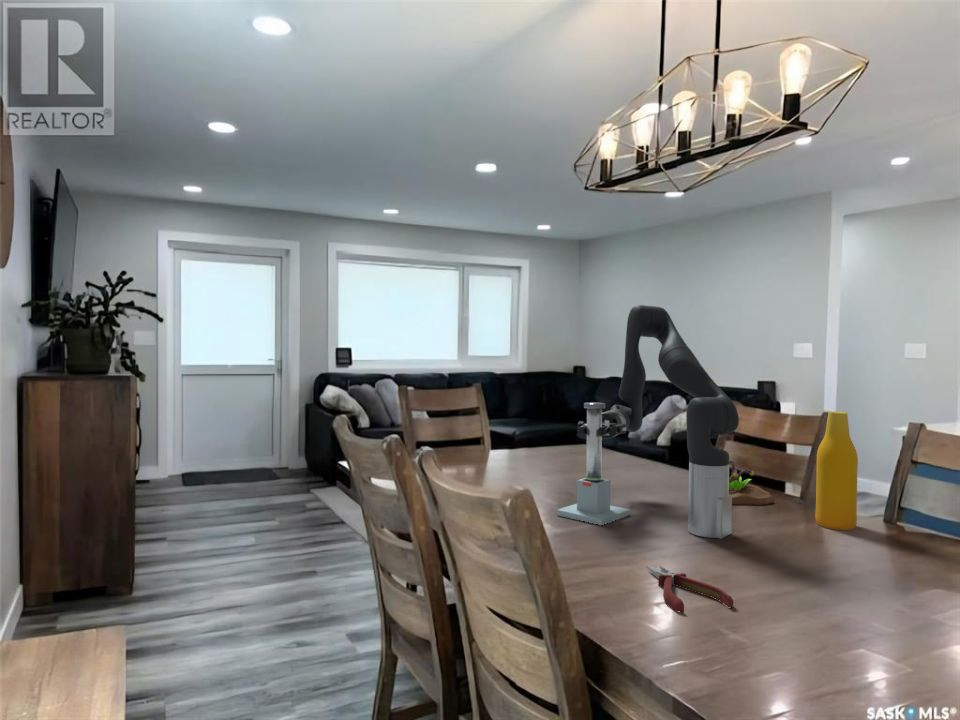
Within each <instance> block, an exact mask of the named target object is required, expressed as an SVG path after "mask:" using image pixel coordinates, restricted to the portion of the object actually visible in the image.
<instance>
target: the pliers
mask: <svg viewBox="0 0 960 720" xmlns="http://www.w3.org/2000/svg"><path fill="white" fill-rule="evenodd" d="M646 568H647V569H648V570H649V572H650V573H651V574H653V576H655V577H656V579H657V582H658V587H663V593H662V594H663V600H664V602H665V604H666V605H667V604H668V605H669V606H670V607H669V606H668V605H667V606H668V607H669V608H671V607H672V608H673V609H674V610H673V609H672V608H671V609H672V610H673V611H675V610H676V611H680V612H684V613H685V604H684V601H683V600H682V599H681V598H679V597H678V596H677V595H676V594H674V593H673V591H672V590H673V589H672V587H673V585H672V584H675V585H674V586H676V585H678V586H677V587H679V586H681V587H680V588H682V587H684V588H683V589H685V588H687V589H686V590H688V589H690V590H689V591H691V590H693V591H692V592H694V591H696V592H695V593H697V592H700V593H703V594H706V595H709V596H712V597H714V598H716V599H718V600H720V601H721V602H722V603H724V604H725V605H727V606H728V607H732V608H733V607H734V599H733V598H732V596H731V595H729V594H728V593H727V592H725V591H724V590H723V589H721V588H720V587H717V586H714V585H712V584H709V583H706V582H702V581H698V580H696V579H693V578H690V577H687V574H686V573H684V572H681V573H674V572H673V571H672V570H670V569H668V568H666V567H664V566H661V565H659V568H657V567H652V566H649V565H646ZM660 585H661V586H660ZM671 589H672V590H671ZM700 593H699V594H700ZM703 594H702V595H703ZM706 595H705V596H706ZM714 598H713V599H714ZM716 599H715V600H716ZM718 600H717V601H718ZM721 602H720V603H721ZM722 603H721V604H722ZM725 605H724V606H725ZM676 611H675V612H676Z"/></svg>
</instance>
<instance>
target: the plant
mask: <svg viewBox="0 0 960 720" xmlns="http://www.w3.org/2000/svg"><path fill="white" fill-rule="evenodd" d="M729 466H731V473H730V476H729V494H730V495H732V505H755V506H761V505H762V506H763V505H768V504H772V503H773V501H774V499H773V495H771V493H770V492H769V491H767V490H764V489H763V488H761V487H759V486H758V485H755V484H752V482H751V481H752V478H746V479H745V480H743V481H742V479H743V477H742V475H743V474H744V473H746V472H748V474H749V476H752V477H753V476H754V475H755V472H754V471H753V470H751V469H743V470H741V471H739V473H738V470H737V469H736V468H735V467H736V466H735V463H734V461H733V459H729Z"/></svg>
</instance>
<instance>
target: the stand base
mask: <svg viewBox="0 0 960 720" xmlns="http://www.w3.org/2000/svg"><path fill="white" fill-rule="evenodd" d="M611 484H612V483H611V479H607V478H602V481H601V482H598V483H594V482H589V481H586V477H584V478H581V479H580V478H579V479H577V480H576V503H574V504H571V505H568V506H564V507H561V508H558V509H556V516H559V517H562V518H567V519H571V520H576V521H579V520H580V521H579V522H583V521H585V522H584V523H588V522H589V524H592V523H593V525H596V524H598V525H597V526H601V525H603V526H605V525H607V523H608V524H610V523H612V521H613V522H615V520H616V521H619V520H621V519H623V518H625V517H628V515H629V516H630V515H631V509H629V508H625V507H619V506H615V505H611ZM620 518H621V519H620ZM604 524H605V525H604Z"/></svg>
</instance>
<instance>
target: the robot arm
mask: <svg viewBox="0 0 960 720" xmlns="http://www.w3.org/2000/svg"><path fill="white" fill-rule="evenodd" d="M641 337H642V338H643V337H646V338H655V339H656V340H658V342H659V343H660V344H661V347H660V350H659V353H658V365H659V367H660V369H661V370H662V372H663V374H664V375H665V377H666V378H667V380H668V381H669V382H670V383H671V384H672V385H674V386H675V387H676V388H678V389H680V390H681V391H682V392H685V393H687V395H689V396H691V397H693V398H692V399H691V400H690V401H689V402H688V405H687V407H686V418H685V421H686V443H687V444H686V445H687V446H686V447H687V451H688V452H687V453H688V456H689V458H688V462H689V463H688V508H687V509H688V513H687V514H688V515H687V516H688V517H687V518H688V521H687V528H688V529H687V531H688V532H689V533H690V534H692V535H694V536H698V537H704V538H711V539H720V540H722V539H724V538H726V537H727V536H729V535H731V534H732V521H733V520H732V519H733V517H732V515H733V512H732V511H733V510H732V509H733V508H732V507H733V504H732V495H730V494H729V478H730V465H729V461H730V453H729V452H727V450H724V449H722V448H718V447H716V446H714V445H713V444H712V442H711V436H722V435H723V436H724V435H729V434H732V433H734V432H735V431H736V430H737V428H738V426H739V423H740V422H739V421H740V417H739V412H738V409H737V407H736V406H735V403H734V402H733V400H732V399H731V398H730V397H729V396H728V395H727V394H726V393H725V392H724V390H723V389H722V388H721V387H719V385H718V384H717V383H716V382H715V381H714V380H713V378H711V376H710V375H709V374H708V372H707V371H706V370H705V368H704V367H703V366H702V364H701V363H700V361H699V360H698V358H697V357H696V355H695V354H694V352H693V351H692V350H691V349H690V348H689V346H688V345H687V344H686V342H685V341H684V339H683V337H682V335H681V334H680V333H679V331H678V329H677V327H676V325H675V323H674V321H673V319H672V318H671V315H669V312H668V311H667V310H666V309H665V308H663V307H661V306H654V305H643V304H637V305H634V306H633V307H632V308H631V309H630V311H629V313H628V317H627V322H626V333H625V343H624V344H625V346H624V347H625V348H624V349H625V350H624V363H623V365H624V366H623V371H622V377H621V381H620V385H619V386H620V387H619V391H618V398H619V399H620V400H622V401H623V402H625V403H626V404H628V405H629V407H627V406H624V405H621V404H614V405H612V406H611V407H610V409H609V410H607V411H604V412H603V411H602V427H600V428H599V436H602V440H609V439H613V438H615V437H616V436H618V435H619V436H620V435H625V434H626V433H627V432H629V433H637V432H638V431H639V430H640V429H641V427H642V424H643V407H642V404H643V403H642V398H643V393H644V391H645V390H644V389H645V385H646V379H647V378H646V377H647V373H646V368H645V366H644V363H643V359H642V357H641V354H640V348H639V347H640V340H641ZM577 433H579V434H580V435H583V436H584V435H587V423H585V421H583V420H579V421H578V423H577Z"/></svg>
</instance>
